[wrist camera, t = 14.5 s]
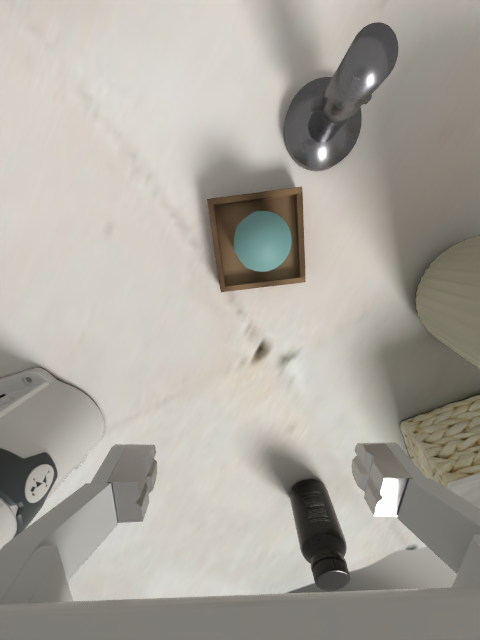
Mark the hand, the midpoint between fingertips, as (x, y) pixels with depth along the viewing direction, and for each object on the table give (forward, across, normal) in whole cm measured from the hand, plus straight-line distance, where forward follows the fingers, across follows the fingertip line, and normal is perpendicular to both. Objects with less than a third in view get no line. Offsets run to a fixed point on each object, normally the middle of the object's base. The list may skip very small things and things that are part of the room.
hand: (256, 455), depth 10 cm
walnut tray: (+24, +2, +9) cm, 25 cm away
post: (+23, +8, +21) cm, 32 cm away
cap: (+23, +2, +9) cm, 24 cm away
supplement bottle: (+24, +14, -34) cm, 44 cm away
